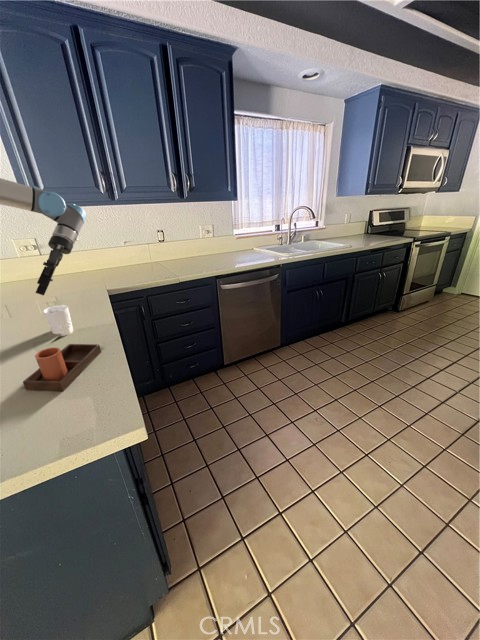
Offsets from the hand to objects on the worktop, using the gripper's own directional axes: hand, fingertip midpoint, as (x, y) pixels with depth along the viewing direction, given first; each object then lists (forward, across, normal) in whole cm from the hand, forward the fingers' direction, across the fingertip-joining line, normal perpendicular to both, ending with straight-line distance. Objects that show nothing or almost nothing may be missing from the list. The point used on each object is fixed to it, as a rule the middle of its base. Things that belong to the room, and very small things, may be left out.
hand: (40, 289), depth 95 cm
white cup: (+12, +7, -12) cm, 18 cm away
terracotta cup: (+29, -22, -13) cm, 39 cm away
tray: (+26, -18, -15) cm, 35 cm away
